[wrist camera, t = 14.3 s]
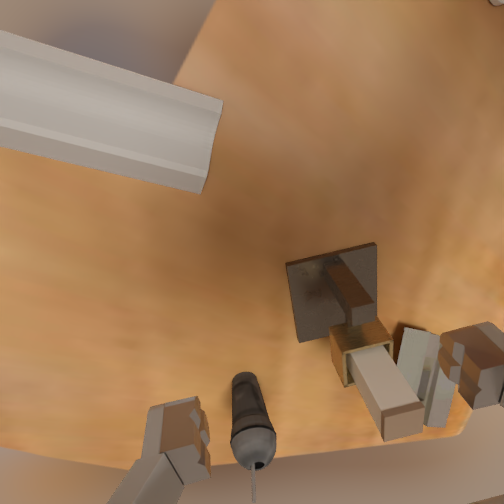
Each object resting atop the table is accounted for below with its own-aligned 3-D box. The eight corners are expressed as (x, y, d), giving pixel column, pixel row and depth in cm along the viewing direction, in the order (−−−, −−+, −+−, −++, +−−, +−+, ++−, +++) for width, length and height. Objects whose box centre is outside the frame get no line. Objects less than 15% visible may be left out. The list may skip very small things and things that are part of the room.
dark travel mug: (261, 393, 65) (285, 512, 48) (223, 395, 64) (233, 518, 46) (265, 365, 62) (293, 482, 44) (225, 367, 60) (237, 488, 43)
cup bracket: (373, 242, 52) (422, 290, 41) (374, 320, 60) (415, 379, 49) (285, 263, 52) (310, 317, 40) (297, 339, 60) (321, 402, 48)
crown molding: (222, 101, 40) (224, 104, 37) (199, 194, 46) (200, 204, 42) (-97, 0, 32) (-128, -7, 29) (-81, 127, 37) (-106, 133, 34)
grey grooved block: (360, 323, 66) (354, 417, 62) (404, 325, 58) (402, 433, 54) (420, 336, 75) (419, 419, 71) (466, 339, 66) (468, 434, 62)
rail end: (371, 327, 48) (425, 407, 37) (372, 350, 51) (422, 432, 39) (340, 335, 48) (384, 417, 37) (342, 357, 50) (384, 442, 39)
